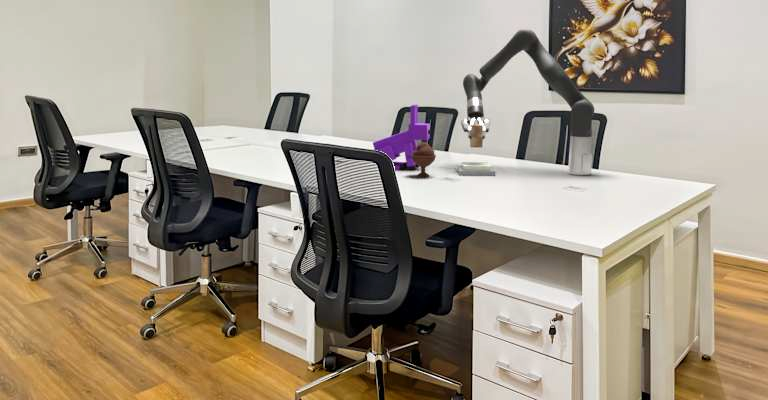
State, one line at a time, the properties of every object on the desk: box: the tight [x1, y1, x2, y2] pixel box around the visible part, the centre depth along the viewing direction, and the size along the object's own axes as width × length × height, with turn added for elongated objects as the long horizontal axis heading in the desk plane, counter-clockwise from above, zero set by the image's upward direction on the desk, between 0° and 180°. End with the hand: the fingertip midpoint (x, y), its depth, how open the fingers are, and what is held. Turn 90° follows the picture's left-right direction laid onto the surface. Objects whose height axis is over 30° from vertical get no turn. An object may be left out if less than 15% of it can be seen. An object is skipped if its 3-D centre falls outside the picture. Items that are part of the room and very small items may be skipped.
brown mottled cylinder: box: [469, 124, 484, 149], centre depth 289 cm, size 5×5×10 cm
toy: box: [372, 104, 432, 171], centre depth 303 cm, size 14×28×30 cm, turn 77°
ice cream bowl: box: [411, 141, 437, 178], centre depth 281 cm, size 11×11×15 cm
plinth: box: [456, 161, 496, 177], centre depth 292 cm, size 16×16×4 cm
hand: (477, 138), depth 288 cm, fingers closed on brown mottled cylinder, 5 cm apart
